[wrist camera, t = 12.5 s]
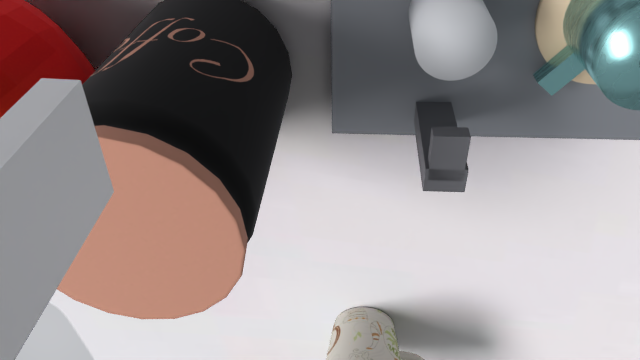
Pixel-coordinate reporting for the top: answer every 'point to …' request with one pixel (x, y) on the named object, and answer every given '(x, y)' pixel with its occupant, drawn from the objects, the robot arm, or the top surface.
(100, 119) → the coffee jar
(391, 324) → the mug
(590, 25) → the teal rounded piece
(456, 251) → the top surface
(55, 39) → the tomato
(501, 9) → the grey tray with posts
